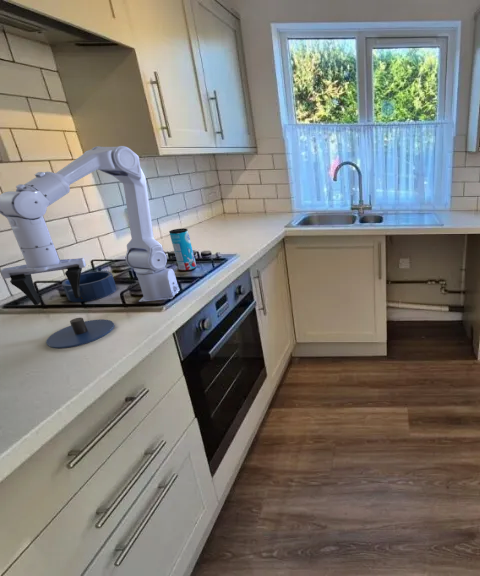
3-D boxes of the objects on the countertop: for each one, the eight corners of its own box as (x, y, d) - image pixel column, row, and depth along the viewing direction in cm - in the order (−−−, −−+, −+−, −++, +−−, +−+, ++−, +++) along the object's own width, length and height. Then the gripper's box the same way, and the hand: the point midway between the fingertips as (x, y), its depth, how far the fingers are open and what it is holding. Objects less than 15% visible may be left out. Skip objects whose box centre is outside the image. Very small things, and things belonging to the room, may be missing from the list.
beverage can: (195, 270, 134) (185, 231, 128) (177, 272, 133) (167, 233, 127) (198, 265, 140) (188, 227, 134) (181, 267, 138) (171, 229, 132)
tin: (127, 281, 126) (122, 267, 124) (100, 303, 110) (94, 287, 108) (86, 285, 124) (81, 270, 122) (53, 307, 108) (46, 291, 105)
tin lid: (124, 320, 99) (119, 305, 97) (98, 346, 87) (92, 330, 85) (68, 326, 97) (62, 310, 95) (34, 353, 84) (25, 336, 83)
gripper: (-14, 254, 75) (12, 313, 81) (73, 244, 82) (92, 299, 87) (-2, 247, 81) (22, 302, 86) (79, 238, 88) (96, 289, 93)
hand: (58, 300), depth 87 cm, fingers open, 7 cm apart
